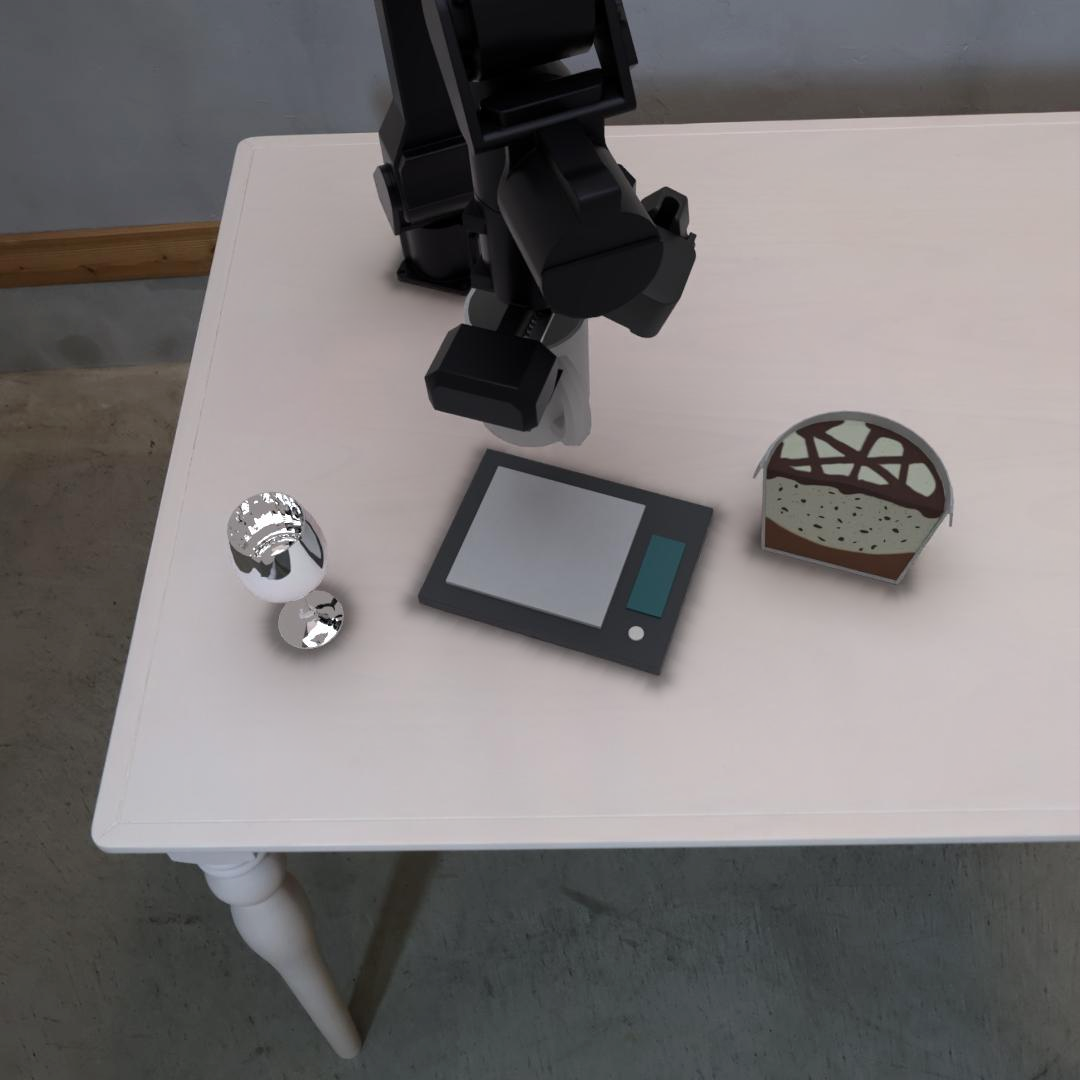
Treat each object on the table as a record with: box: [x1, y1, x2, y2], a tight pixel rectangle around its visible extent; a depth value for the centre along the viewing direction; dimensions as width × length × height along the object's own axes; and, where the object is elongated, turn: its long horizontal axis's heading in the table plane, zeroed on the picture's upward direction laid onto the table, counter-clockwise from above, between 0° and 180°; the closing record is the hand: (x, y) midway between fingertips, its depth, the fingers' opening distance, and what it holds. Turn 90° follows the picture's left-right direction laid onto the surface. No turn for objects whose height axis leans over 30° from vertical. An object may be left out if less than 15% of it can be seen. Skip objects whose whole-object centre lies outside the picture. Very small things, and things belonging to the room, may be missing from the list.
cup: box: [462, 288, 592, 449], centre depth 68 cm, size 7×10×9 cm
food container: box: [752, 410, 955, 585], centre depth 74 cm, size 12×6×10 cm, turn 71°
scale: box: [417, 448, 714, 676], centre depth 77 cm, size 17×13×1 cm
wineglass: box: [226, 491, 345, 650], centre depth 71 cm, size 6×6×12 cm
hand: (544, 381), depth 70 cm, fingers closed on cup, 7 cm apart
